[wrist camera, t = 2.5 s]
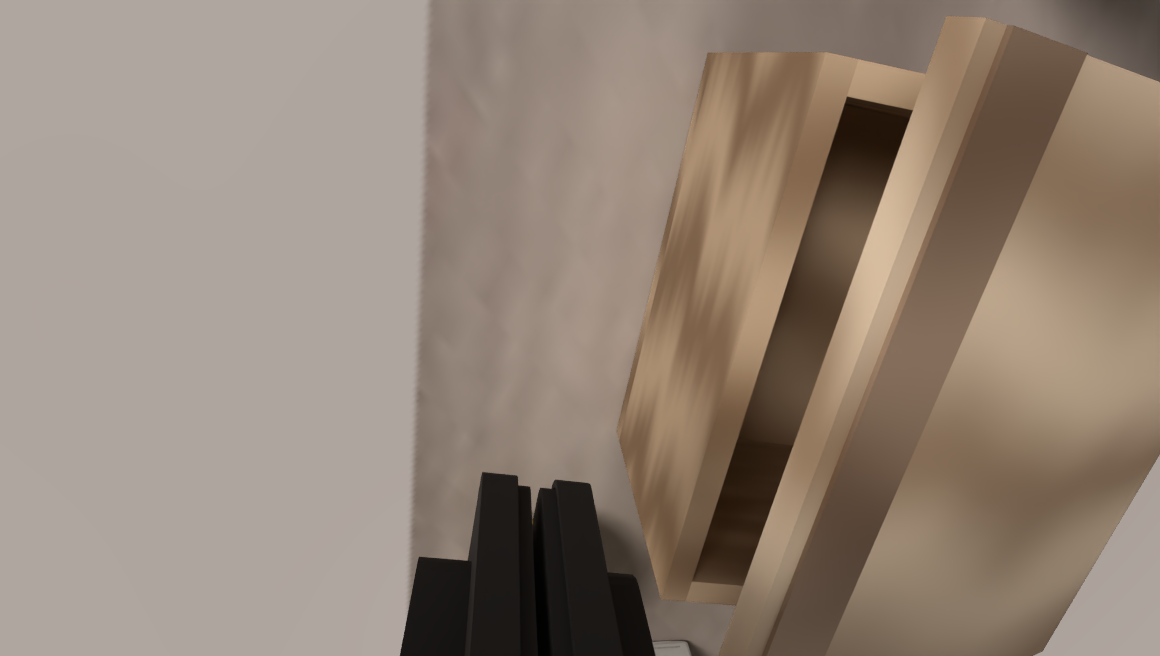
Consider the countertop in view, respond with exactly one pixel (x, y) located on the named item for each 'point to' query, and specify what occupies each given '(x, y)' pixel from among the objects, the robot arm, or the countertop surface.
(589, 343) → the countertop surface
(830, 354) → the lid flap
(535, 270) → the countertop surface
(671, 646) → the supplement box
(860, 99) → the light brown boxy piece
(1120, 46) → the countertop surface
